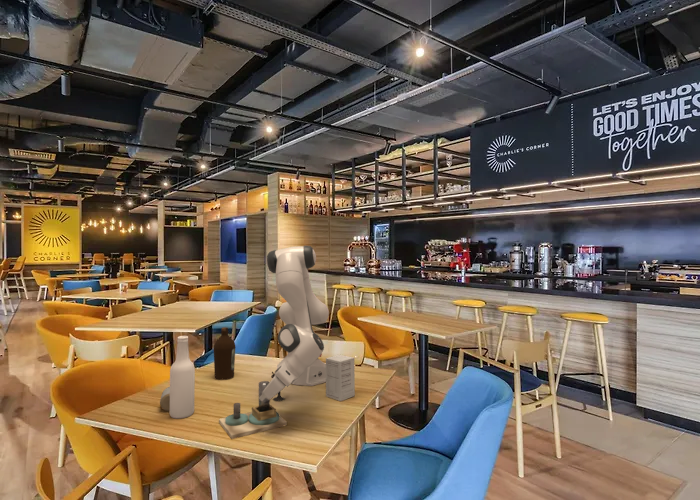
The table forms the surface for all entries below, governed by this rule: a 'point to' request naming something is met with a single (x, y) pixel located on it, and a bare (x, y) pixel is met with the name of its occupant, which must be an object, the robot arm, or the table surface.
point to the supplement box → (340, 377)
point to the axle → (265, 403)
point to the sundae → (278, 393)
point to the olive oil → (224, 356)
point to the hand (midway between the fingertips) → (262, 396)
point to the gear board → (251, 421)
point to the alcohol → (182, 382)
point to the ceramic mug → (165, 399)
